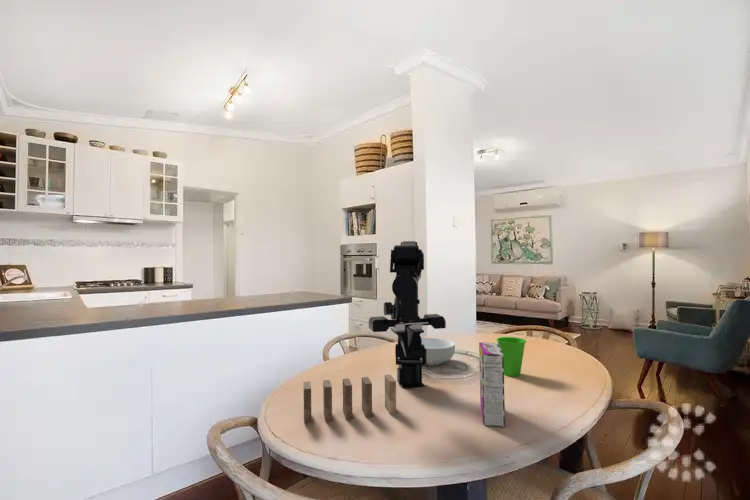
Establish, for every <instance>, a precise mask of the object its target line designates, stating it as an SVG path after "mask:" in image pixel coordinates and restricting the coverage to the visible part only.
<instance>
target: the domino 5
mask: <svg viewBox="0 0 750 500" xmlns="http://www.w3.org/2000/svg"><path fill="white" fill-rule="evenodd" d="M384 407H385V409H386V410H387V412H388V414H389V415H396V414H397V381H396V379H395V378H394V377H393V375H391V374H384Z"/></svg>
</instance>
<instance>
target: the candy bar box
mask: <svg viewBox="0 0 750 500" xmlns="http://www.w3.org/2000/svg"><path fill="white" fill-rule="evenodd" d="M478 344H479V345H478V347H479V349H478V351H479V353H478V355H479V356H478V357H479V358H478V359H479V392H480V393H479V394H480V395H479V397H480V399H479V400H480V402H479V404H480V410H481V411H480V412H481V415H482V422H483V425H484V426H485V427H486V426H487V427H496V428H498V427H500V428H505V427H506V420H505V419H506V416H505V415H506V411H505V410H506V407H505V405H506V403H505V401H506V400H505V375H504V355H503V353H502V351H501V348H500V346H499V344H498V342H482V341H481V342H479V343H478Z"/></svg>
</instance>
